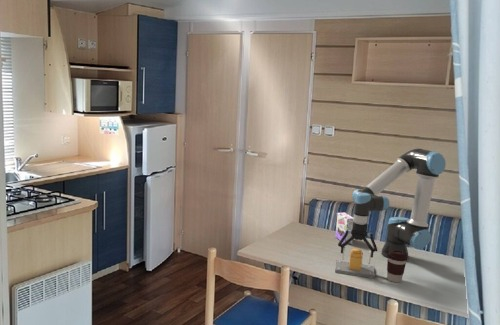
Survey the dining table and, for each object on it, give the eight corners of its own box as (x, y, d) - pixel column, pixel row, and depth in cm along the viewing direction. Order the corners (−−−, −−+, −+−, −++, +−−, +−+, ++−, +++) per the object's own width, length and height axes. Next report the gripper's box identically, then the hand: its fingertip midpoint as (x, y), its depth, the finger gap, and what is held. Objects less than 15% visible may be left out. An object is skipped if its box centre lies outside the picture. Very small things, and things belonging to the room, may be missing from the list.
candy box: (334, 236, 314) (337, 212, 311) (342, 236, 315) (345, 212, 313) (344, 244, 301) (347, 218, 298) (353, 243, 302) (356, 218, 300)
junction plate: (373, 268, 263) (375, 255, 262) (374, 278, 250) (376, 264, 248) (336, 263, 267) (337, 249, 266) (334, 272, 254) (336, 258, 252)
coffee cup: (389, 274, 256) (392, 247, 254) (407, 280, 250) (411, 252, 248) (381, 279, 249) (384, 251, 246) (399, 285, 243) (403, 257, 240)
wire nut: (361, 266, 261) (363, 249, 259) (361, 270, 254) (363, 253, 253) (348, 264, 262) (350, 247, 260) (348, 268, 256) (350, 251, 254)
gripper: (384, 223, 255) (379, 262, 259) (336, 217, 260) (332, 255, 264) (385, 227, 248) (380, 267, 251) (335, 221, 253) (331, 260, 256)
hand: (355, 261), depth 258 cm, fingers open, 13 cm apart
